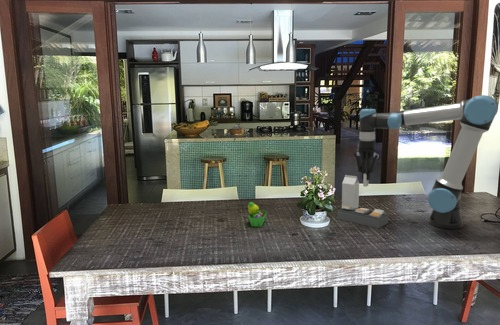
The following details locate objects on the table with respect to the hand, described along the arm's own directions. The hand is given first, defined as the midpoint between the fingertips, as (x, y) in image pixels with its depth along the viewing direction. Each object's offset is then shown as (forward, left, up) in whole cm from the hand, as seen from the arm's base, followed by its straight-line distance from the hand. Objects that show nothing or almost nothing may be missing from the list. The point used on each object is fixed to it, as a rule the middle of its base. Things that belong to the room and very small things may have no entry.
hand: (365, 186), depth 205 cm
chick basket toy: (+39, +41, -18) cm, 59 cm away
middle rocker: (0, +3, -13) cm, 13 cm away
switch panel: (0, +3, -18) cm, 18 cm away
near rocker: (-8, +3, -13) cm, 15 cm away
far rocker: (+8, +3, -13) cm, 16 cm away
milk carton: (+17, -14, -18) cm, 29 cm away
